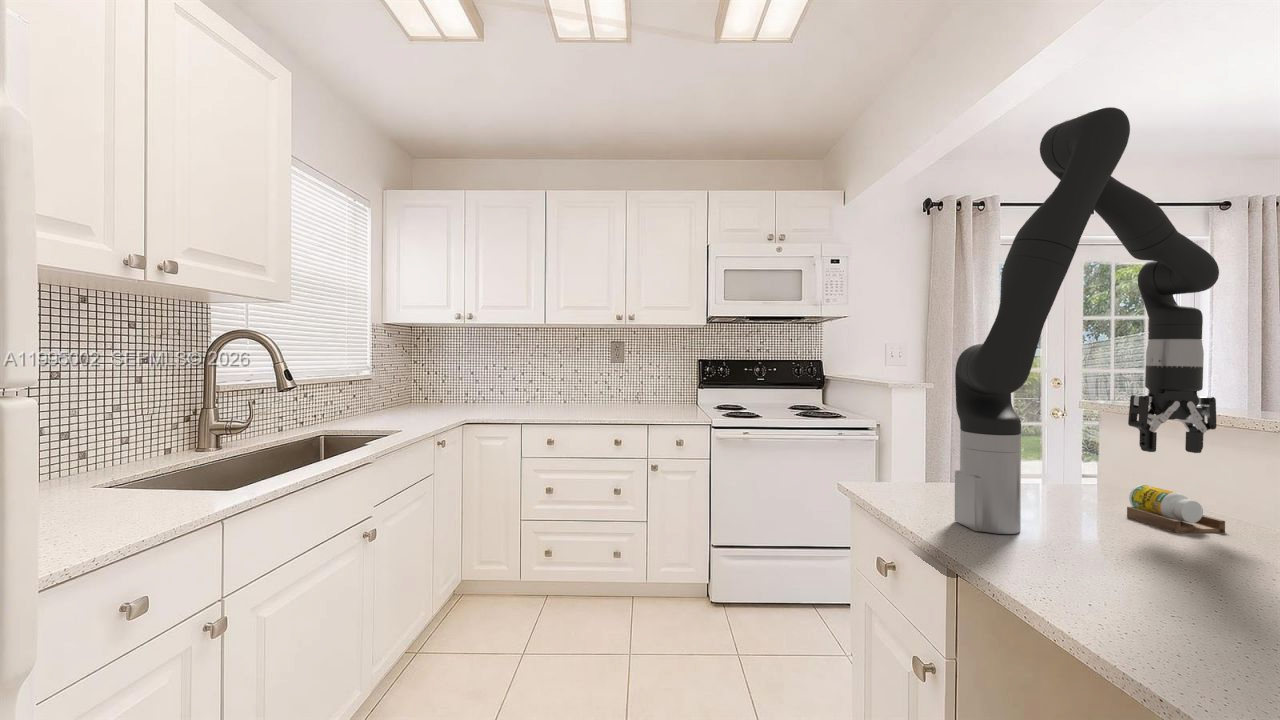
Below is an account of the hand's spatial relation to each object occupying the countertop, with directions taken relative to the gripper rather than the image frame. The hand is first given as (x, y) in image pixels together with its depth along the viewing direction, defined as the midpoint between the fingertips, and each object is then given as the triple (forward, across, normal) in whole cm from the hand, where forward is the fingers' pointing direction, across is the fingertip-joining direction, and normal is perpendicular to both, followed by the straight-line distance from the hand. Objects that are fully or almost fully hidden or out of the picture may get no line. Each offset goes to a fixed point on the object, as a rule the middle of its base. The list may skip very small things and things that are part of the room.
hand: (1170, 451), depth 98 cm
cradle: (+13, 0, 0) cm, 13 cm away
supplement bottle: (+10, 0, +6) cm, 12 cm away
